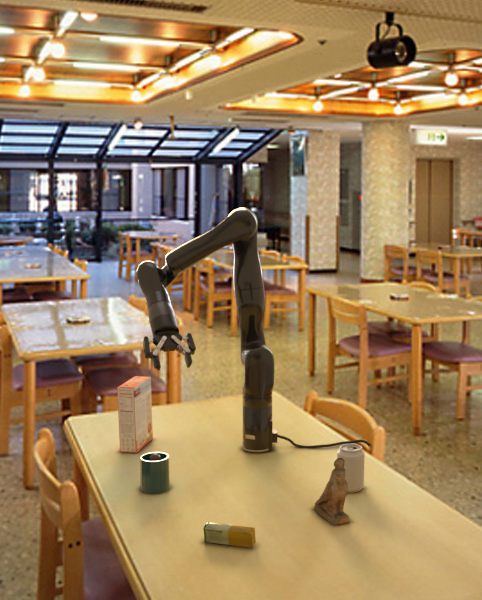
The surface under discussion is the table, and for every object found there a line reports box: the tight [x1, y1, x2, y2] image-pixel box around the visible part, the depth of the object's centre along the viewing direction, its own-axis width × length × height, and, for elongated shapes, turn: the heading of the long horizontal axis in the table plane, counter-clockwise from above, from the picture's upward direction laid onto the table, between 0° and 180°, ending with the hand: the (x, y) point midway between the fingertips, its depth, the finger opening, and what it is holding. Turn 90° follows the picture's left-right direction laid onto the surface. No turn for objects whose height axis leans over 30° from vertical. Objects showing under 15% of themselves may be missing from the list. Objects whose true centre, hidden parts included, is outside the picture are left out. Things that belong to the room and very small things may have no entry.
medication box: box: [203, 522, 257, 549], centre depth 183 cm, size 12×3×4 cm, turn 75°
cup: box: [139, 451, 171, 495], centre depth 214 cm, size 8×8×9 cm
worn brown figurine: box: [313, 458, 350, 526], centre depth 197 cm, size 12×6×18 cm, turn 24°
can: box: [336, 443, 366, 494], centre depth 216 cm, size 8×8×12 cm
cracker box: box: [116, 375, 154, 454], centre depth 248 cm, size 14×6×21 cm, turn 172°
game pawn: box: [149, 453, 161, 461], centre depth 214 cm, size 4×4×9 cm
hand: (174, 367), depth 221 cm, fingers open, 8 cm apart
